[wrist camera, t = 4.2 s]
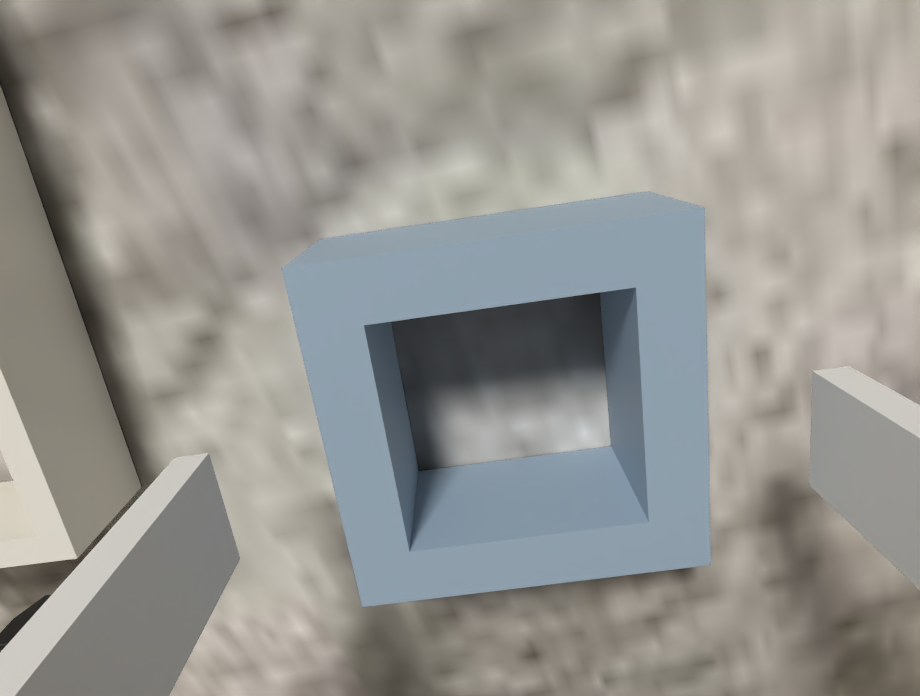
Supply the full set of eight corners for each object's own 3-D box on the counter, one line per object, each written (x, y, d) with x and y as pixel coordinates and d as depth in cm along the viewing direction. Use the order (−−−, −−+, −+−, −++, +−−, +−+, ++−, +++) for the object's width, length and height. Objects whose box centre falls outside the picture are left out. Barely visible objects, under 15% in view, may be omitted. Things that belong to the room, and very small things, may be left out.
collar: (320, 239, 17) (281, 268, 13) (648, 191, 17) (704, 207, 13) (380, 518, 20) (361, 607, 16) (661, 482, 20) (710, 564, 16)
